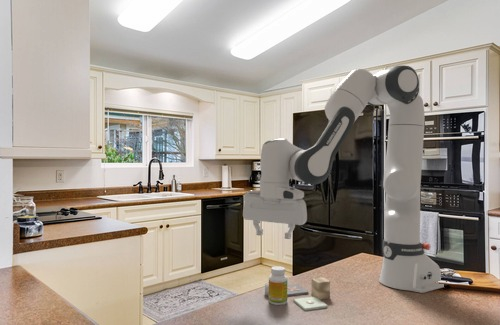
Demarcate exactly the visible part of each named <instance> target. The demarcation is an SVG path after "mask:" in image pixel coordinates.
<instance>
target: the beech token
mask: <svg viewBox="0 0 500 325" xmlns="http://www.w3.org/2000/svg"><path fill="white" fill-rule="evenodd" d="M314 296H315V297H316V298H318V299H319V300H326V299H331V281H330V280H329V279H327V278H325V277H324V276H323V277H313V278H311V297H314Z"/></svg>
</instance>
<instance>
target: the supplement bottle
mask: <svg viewBox="0 0 500 325" xmlns="http://www.w3.org/2000/svg"><path fill="white" fill-rule="evenodd" d="M270 273H271V274H269V276H268V282H269V297H268V302H269V303H270V304H272V305H275V306H282V305H286V304H287V302H288V296H287V286H288V276H287V275H286V268H285V267H284V266H279V265H277V266H272V267H271V268H270Z"/></svg>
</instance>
